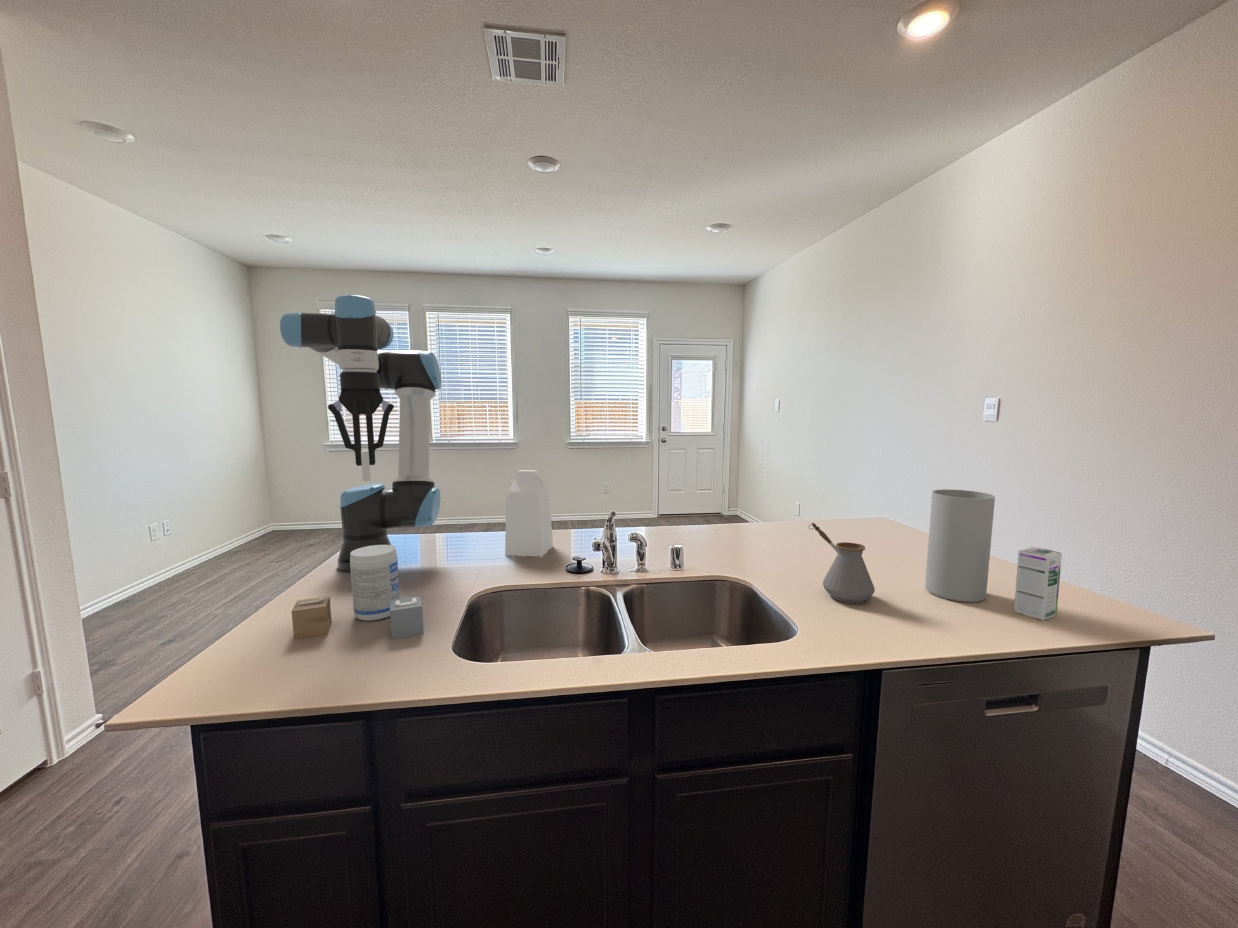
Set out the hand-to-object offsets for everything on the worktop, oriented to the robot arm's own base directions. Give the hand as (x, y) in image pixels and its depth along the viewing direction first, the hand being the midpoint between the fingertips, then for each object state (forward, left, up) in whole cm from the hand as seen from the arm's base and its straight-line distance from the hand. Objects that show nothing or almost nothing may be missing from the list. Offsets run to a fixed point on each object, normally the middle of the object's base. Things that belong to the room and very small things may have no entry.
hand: (366, 480), depth 110 cm
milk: (-32, +43, -31) cm, 62 cm away
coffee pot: (+33, +105, -31) cm, 115 cm away
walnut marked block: (+5, -12, -30) cm, 33 cm away
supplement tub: (+1, 0, -31) cm, 31 cm away
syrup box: (+62, +134, -31) cm, 151 cm away
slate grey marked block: (+13, +6, -30) cm, 34 cm away
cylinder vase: (+47, +130, -31) cm, 142 cm away
